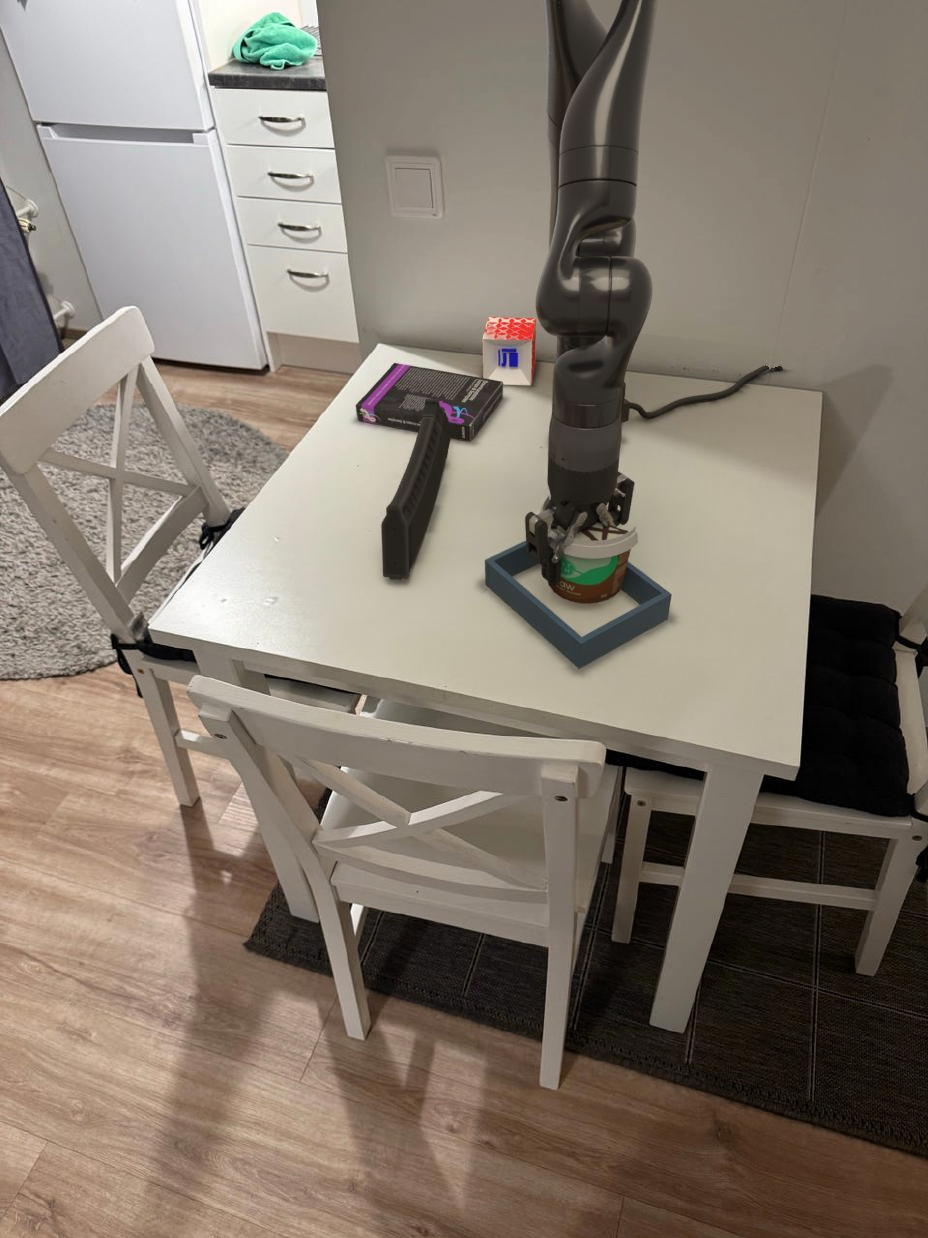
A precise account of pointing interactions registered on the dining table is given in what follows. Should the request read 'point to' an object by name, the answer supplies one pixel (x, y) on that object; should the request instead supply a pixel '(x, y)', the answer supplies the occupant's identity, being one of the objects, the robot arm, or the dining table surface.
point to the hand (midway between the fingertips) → (576, 568)
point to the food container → (593, 562)
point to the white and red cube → (509, 350)
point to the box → (410, 386)
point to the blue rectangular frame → (556, 629)
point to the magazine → (415, 494)
